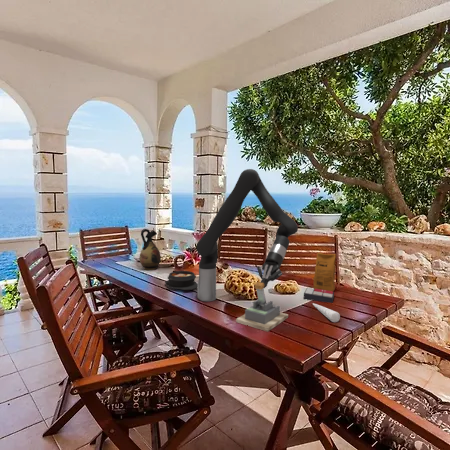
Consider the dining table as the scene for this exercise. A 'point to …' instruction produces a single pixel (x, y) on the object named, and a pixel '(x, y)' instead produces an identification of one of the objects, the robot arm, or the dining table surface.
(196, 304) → the dining table surface
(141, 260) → the ceramic jug
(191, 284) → the casserole
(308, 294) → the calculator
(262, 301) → the lever
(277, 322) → the mounting board
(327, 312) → the unicorn horn
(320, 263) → the coffee package
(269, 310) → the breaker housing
